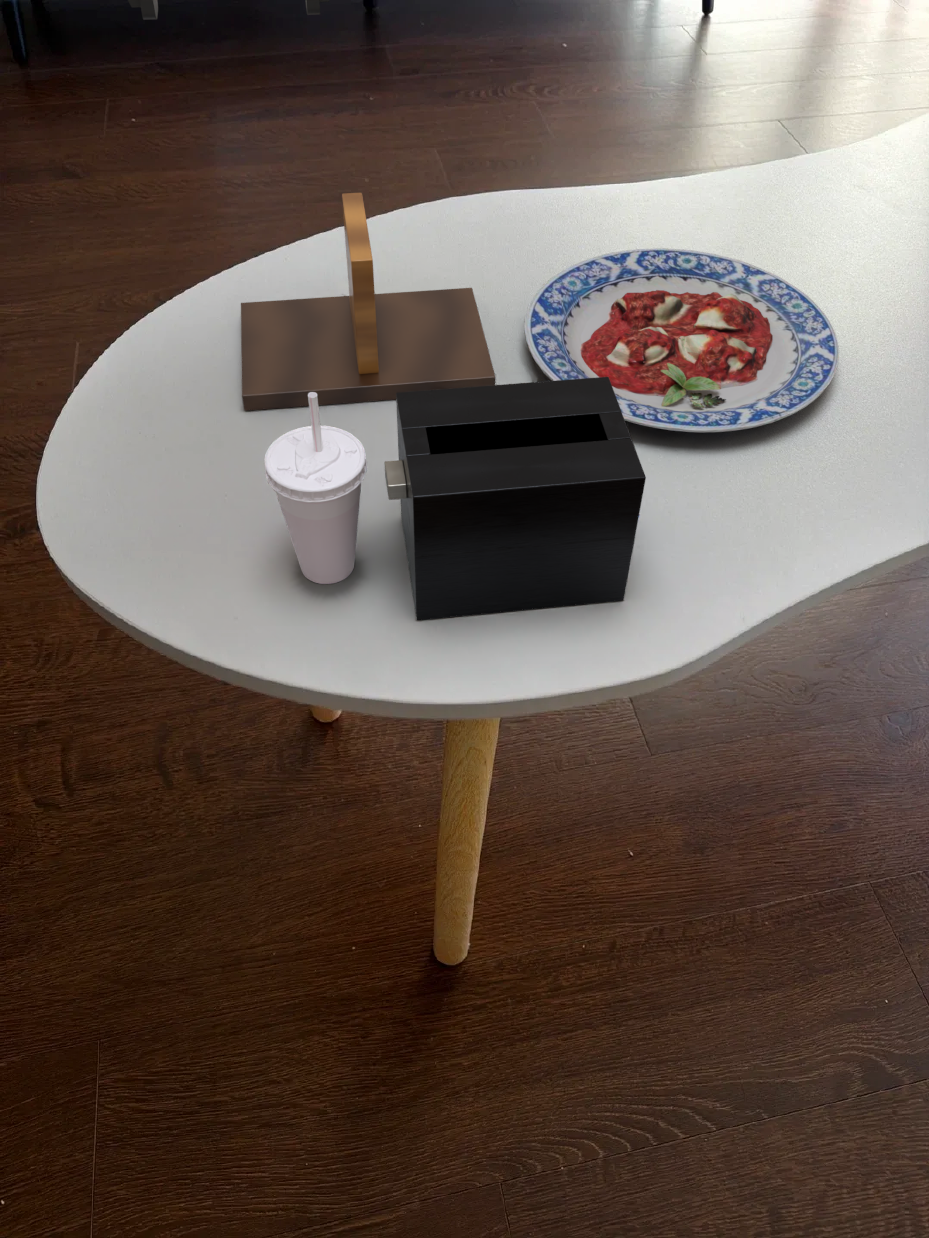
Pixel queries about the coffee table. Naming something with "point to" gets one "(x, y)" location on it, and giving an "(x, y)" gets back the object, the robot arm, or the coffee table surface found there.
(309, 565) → the smoothie
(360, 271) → the toast
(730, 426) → the ceramic plate
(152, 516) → the coffee table surface
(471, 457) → the toaster
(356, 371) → the cutting board
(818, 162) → the coffee table surface
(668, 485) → the coffee table surface
